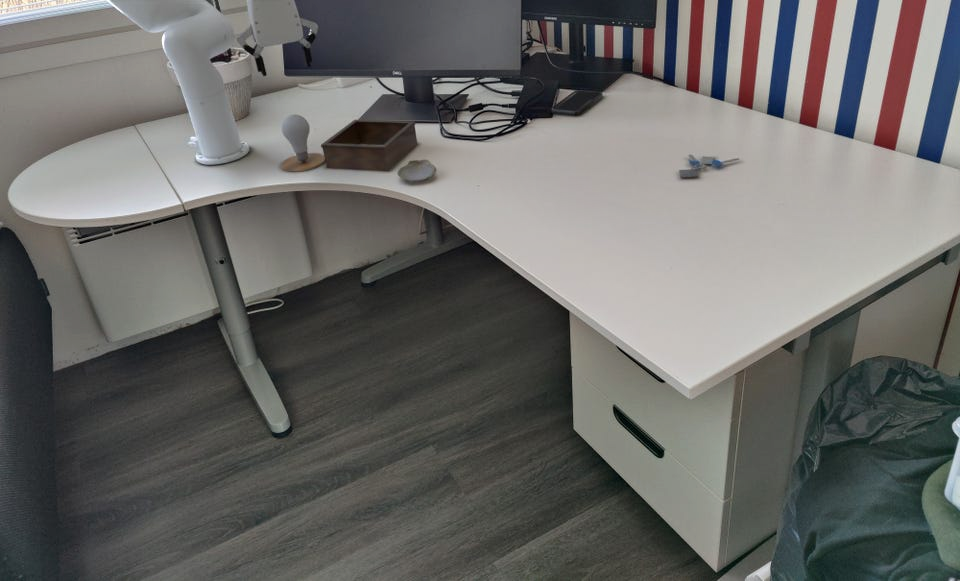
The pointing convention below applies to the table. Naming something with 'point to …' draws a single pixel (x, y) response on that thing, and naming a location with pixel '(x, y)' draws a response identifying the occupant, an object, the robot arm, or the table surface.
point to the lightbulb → (297, 135)
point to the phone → (577, 102)
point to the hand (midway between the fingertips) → (286, 70)
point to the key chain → (705, 160)
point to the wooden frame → (351, 155)
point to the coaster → (303, 163)
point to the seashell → (417, 170)
